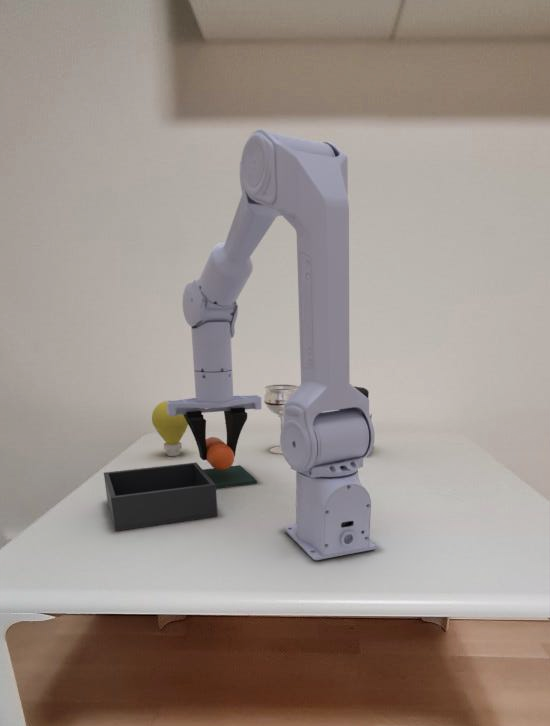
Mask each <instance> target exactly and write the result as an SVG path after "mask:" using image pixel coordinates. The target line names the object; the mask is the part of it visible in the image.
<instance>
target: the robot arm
mask: <svg viewBox="0 0 550 726" xmlns="http://www.w3.org/2000/svg"><path fill="white" fill-rule="evenodd" d="M240 159H241V160H240V161H239V183H240V189H241V195H240V199H239V202H238V205H237V208H236V211H235V212H234V213H235V214H234V216H233V219H232V222H231V225H230V228H229V231H228V234H227V236H226V239H225V241H222V242H219V243H217V244H215V245H214V246H213V248H212V250H211V252H210V254H209V255H208V258H207V261H206V263H205V264H204V265H205V266H204V268H203V270H202V272H201V274H200V276H199V278H198V279H194V280H193V281H192V282H187V284H186V285H185V287H184V290H183V294H182V311H183V316H184V319H185V321H186V323H187V324H188V326H190V327H191V341H192V360H193V361H192V362H193V375H194V389H195V392H194V393H195V397H192V398H184V399H177V400H165V401H166V406H167V414H168V415H169V416H176V415H180V414H183V415H184V417H185V419H186V421H187V423H188V427H189V428H190V431H191V433H192V435H193V438H194V440H195V443H196V447H197V449H198V455H199V458H200V459H201V460H202V461H207V448H206V439H207V437H206V436H207V431H206V430H207V420H206V419H205V418H204V414H203V413H205V414H206V413H219V412H223V414H224V421H225V429H226V430H225V431H226V445H227V446H229V447H230V448H231V449H232V451H233V453H234V458H236V451H237V446H238V442H239V439H240V436H241V433H242V431H243V428H244V425H245V424H246V422H247V420H248V413H247V412H246V410H258V411H259V410H262V397H261V396H259V395H256V394H255V395H234V384H233V383H234V380H233V377H234V376H233V360H232V359H233V353H232V339H233V338H234V337H235V334H236V333H235V332H236V331H235V324H236V321H237V319H238V318H237V317H238V312H239V305H238V304H237V300H238V299H239V296H240V295H241V293H242V291H243V289H244V287H245V286H246V284H247V282H248V280H249V278H250V277H251V275H252V273H253V270H254V266H253V261H252V259H251V256H252V255H253V253H254V252H255V251H256V249H257V247H258V246H259V245H260V243H261V241H262V240H263V238H264V236H265V235H266V234H267V232H268V231H269V229H270V228H271V226H272V225H273V224H274V221H275V220H276V219H277V218H278V217H281V216H282V217H283V218H284V219H285V220H286V221H287V222H288V223H289V224H290V226H292V228H293V229H294V230H295V232H296V259H297V262H296V263H297V292H298V293H297V295H298V317H299V318H298V323H299V326H298V327H299V355H300V357H299V359H300V362H299V363H300V384H299V385H298V386H299V387H298V389H297V390H296V391H295V392H294V393H293V394H292V395H291V397H290V398H289V399H288V400H287V401H286V403H285V404H284V423H283V427H282V430H281V429H280V436H279V437H280V438H279V443H280V446H281V450H282V453H283V454H282V456H283V458H284V460H285V461H286V462H287V464H288V466H290V469H291V470H293V471H295V473H296V475H295V481H296V482H295V490H296V491H295V509H296V510H295V512H296V513H295V524H292V525H286V526H284V532H285V533H286V534H287V535H289V536H290V538H292V540H293V541H294V542H296V544H297V545H298V546H299V547H300V548H301V549H302V550H303V551H304V552H305V553H306V554H307V555H308V556H309V557H310V558H311V559H312V560H314V561H320V560H326V559H332V558H336V557H341V556H347V555H350V554H351V555H352V554H358V553H362V552H367V551H372V550H375V549H376V544H375V543H374V542H372V540H370V534H371V533H370V531H371V529H370V528H371V513H372V500H371V496H370V493H369V492H368V490H367V489H366V487H364V486H363V484H362V483H361V480H360V478H359V470H360V468H363V467H364V459H366V458H367V457H368V456H369V455H371V452H372V451H373V448H374V444H375V428H374V424H373V422H372V417H371V418H370V413H369V411H370V399H369V397H368V398H367V397H366V396H365V395H363V394H362V393H361V392H360V391H358V390H357V389H356V388H355V387H353V386H354V385H352V384H351V383H350V205H349V196H348V194H349V192H348V190H349V189H348V188H349V187H348V185H349V183H348V182H349V181H348V180H349V179H348V177H349V175H348V171H349V170H348V168H349V167H348V156H347V154H345V153H344V151H342V150H341V149H340V148H339V147H338V146H337V145H335V144H334V143H332V142H330V141H323V142H321V141H315V140H310V139H305V138H301V137H300V138H299V137H295V136H292V135H291V136H290V135H285V134H280V133H275V132H270V131H268V130H267V129H263V128H259V129H255V130H254V131H253V132H252V133H251V134H250V136H249V137H248V139H247V140H246V142H245V144H244V147H243V150H242V154H241V158H240ZM338 409H339V410H338ZM335 410H337V411H335Z"/></svg>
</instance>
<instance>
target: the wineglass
mask: <svg viewBox="0 0 550 726" xmlns="http://www.w3.org/2000/svg"><path fill="white" fill-rule="evenodd" d="M299 386H300V385H295V384H270V385H265V386H264V387H263V388H264V390H265V393H264V396H263V402H264V404H265V407H266V408H267V410H269V411H270V412H271V413H272V414H275V415H277V417H278V418H279V423H280V431H281V430H282V427H283V423H284V404H285V403H286V401H287V400H288V399H289V398H290V397H291V395H292V394H293V393H294V392H295V391H296V390H297V389H298V387H299ZM269 452H271V453H273V454H280V455H281V454H282V455H283V453H282V450H281V445H279V446H275V447H271V448H269Z"/></svg>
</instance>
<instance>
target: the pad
mask: <svg viewBox="0 0 550 726" xmlns="http://www.w3.org/2000/svg"><path fill="white" fill-rule="evenodd" d="M202 470H203V471H204V472H205V473H206V474H207V475H208V477H209V478H210V479H211V480H212V481H213V482H214V484H215V485H216V489H223V488H229V487H230V488H232V487H237V486H246V485H253V484H258V480H257V478H255V477H254V476H253V475H252V474H251V473H250V472H248V471H247V470H246V469H245V468H244V467H243V466H242V465H240V464H239V465H238V464H237V465H231V466H230V467H229V468H228V469H226V470H218V469H215V468H214V467H212V468H202Z"/></svg>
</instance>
